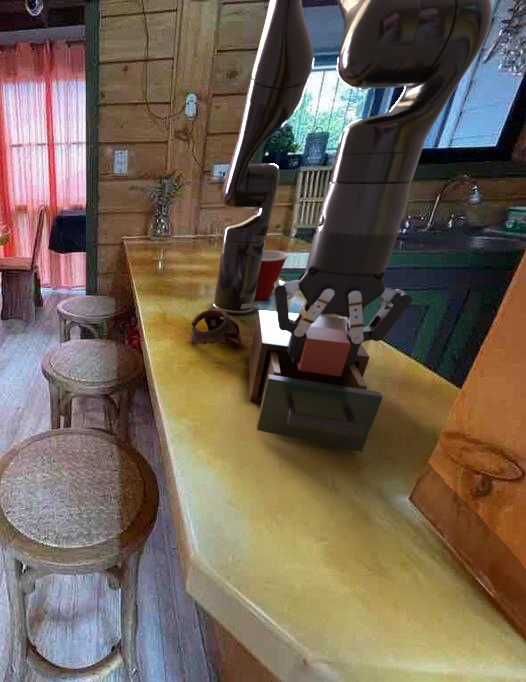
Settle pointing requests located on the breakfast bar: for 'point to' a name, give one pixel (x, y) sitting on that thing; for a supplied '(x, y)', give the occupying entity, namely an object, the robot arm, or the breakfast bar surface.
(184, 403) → the breakfast bar surface
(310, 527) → the breakfast bar surface
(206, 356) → the breakfast bar surface
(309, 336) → the block
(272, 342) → the cabinet
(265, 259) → the plastic cup
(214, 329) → the brown ring bracket
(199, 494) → the breakfast bar surface
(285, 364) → the drawer
